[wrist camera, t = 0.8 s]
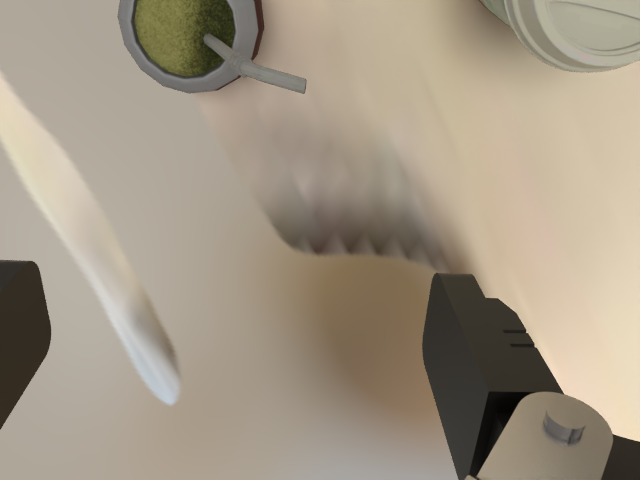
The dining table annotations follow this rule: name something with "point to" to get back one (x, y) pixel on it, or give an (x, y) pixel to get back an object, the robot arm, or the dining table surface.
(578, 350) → the dining table surface
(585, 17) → the coffee cup
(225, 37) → the mate gourd
